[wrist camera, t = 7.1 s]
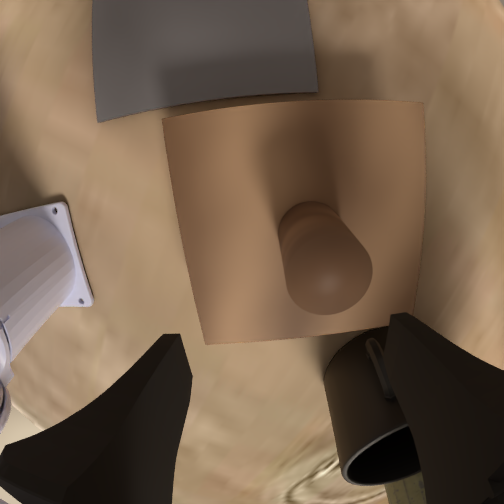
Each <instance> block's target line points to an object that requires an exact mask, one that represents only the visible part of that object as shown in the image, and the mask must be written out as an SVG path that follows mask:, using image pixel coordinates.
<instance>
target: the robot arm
mask: <svg viewBox="0 0 504 504" xmlns="http://www.w3.org/2000/svg"><path fill="white" fill-rule="evenodd" d="M55 208H57V212H56V211H55ZM81 299H83V301H82V300H81ZM93 303H94V299H93V296H92V293H91V290H90V287H89V284H88V280H87V277H86V274H85V271H84V267H83V264H82V261H81V257H80V254H79V250H78V246H77V243H76V239H75V235H74V231H73V227H72V223H71V219H70V214H69V210H68V206H67V204H66V203H65V202H56V203H52V204H47V205H42V206H38V207H34V208H29V209H25V210H21V211H17V212H13V213H9V214H5V215H1V216H0V434H1V432H2V430H3V428H4V427H5V425H6V423H7V420H8V417H9V414H10V410H11V398H10V394H9V392H8V390H7V388H6V386H7V385H8V383H9V382H10V381H11V379H12V378H13V377H14V373H13V371H12V369H11V367H10V363H11V362H12V361H13V359H14V358H15V357H16V356H17V354H18V353H19V352H20V351H21V350H22V348H23V347H24V346H25V345H26V344H27V342H28V341H29V340H30V339H31V338H32V336H33V335H34V334H35V333H36V332H37V331H38V329H39V328H40V327H41V326H42V325H43V324H44V323H45V321H46V320H47V319H48V318H49V317H50V316H51V315H52V314H53V313H54V311H55V310H56V309H57V308H58V307H89V306H91V305H92V304H93ZM383 361H384V365H385V368H386V372H387V375H388V378H389V381H390V384H391V386H392V389H393V391H394V393H395V395H396V398H397V400H398V402H399V404H400V407H401V409H402V411H403V414H404V416H405V418H406V421H407V423H408V425H409V428H410V430H411V433H412V436H413V439H414V442H415V446H416V450H417V454H418V458H419V462H420V467H421V471H422V476H423V482H424V489H425V496H426V504H504V370H501V369H499V368H497V367H495V366H493V365H491V364H488V363H486V362H484V361H482V360H480V359H479V358H477V357H475V356H473V355H471V354H470V353H468V352H466V351H465V350H463V349H461V348H460V347H458V346H457V345H455V344H453V343H452V342H450V341H449V340H447V339H446V338H444V337H443V336H441V335H440V334H438V333H437V332H436V331H434V330H433V329H431V328H430V327H428V326H427V325H425V324H424V323H423V322H421V321H420V320H418V319H417V318H415V317H414V316H412V315H410V314H409V313H407V312H403V313H397V314H391V315H390V322H389V328H388V334H387V339H386V345H385V350H384V355H383ZM192 377H193V376H192V373H191V369H190V366H189V363H188V359H187V356H186V353H185V349H184V346H183V342H182V339H181V335H180V334H163V335H162V336H161V337H160V338H159V339H158V340H157V341H156V342H155V343H154V344H153V345H152V346H151V347H150V348H149V349H148V350H147V351H146V353H145V354H144V355H143V356H142V357H141V358H140V359H139V360H138V361H137V362H136V363H135V364H134V365H133V366H132V367H131V368H130V369H129V370H128V371H127V372H126V373H125V374H124V375H123V376H121V377H120V378H119V379H118V380H117V381H116V382H115V383H114V384H113V385H112V386H111V387H110V388H108V389H107V390H106V391H105V392H104V393H102V394H101V395H100V396H99V397H97V398H96V399H95V400H93V401H92V402H91V403H89V404H88V405H87V406H85V407H84V408H82V409H81V410H79V411H78V412H76V413H75V414H73V415H71V416H70V417H68V418H67V419H65V420H63V421H62V422H60V423H58V424H56V425H54V426H52V427H50V428H48V429H46V430H44V431H42V432H40V433H38V434H35V435H33V436H31V437H28V438H25V439H22V440H20V441H17V442H14V443H11V444H8V445H6V446H5V447H4V449H3V451H2V453H1V455H0V486H1V487H2V488H3V489H4V490H5V491H7V492H8V493H9V494H10V495H12V496H13V497H14V498H15V499H17V500H18V501H19V502H21V503H22V504H172V493H173V481H174V471H175V462H176V457H177V451H178V447H179V443H180V439H181V435H182V431H183V427H184V423H185V419H186V415H187V411H188V407H189V403H190V396H191V387H192ZM0 504H8V503H6V502H5V501H3V500H1V499H0Z"/></svg>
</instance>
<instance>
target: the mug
mask: <svg viewBox="0 0 504 504" xmlns="http://www.w3.org/2000/svg"><path fill="white" fill-rule="evenodd" d="M388 328H389V326H387V327H382V328H378V329H374V330H372V331H369V332H366V333H364V334H362V335H360V336H358V337H357V338H355V339H353V340H352V341H350V342H349V343H348V344H346V345H345V346H344V347H343V348H342V349H341V350H340V351H339V352H338V353H337V354H336V355H335V356H334V358H333V359H332V361H331V362H330V364H329V366H328V368H327V371H326V374H325V379H324V386H325V391H326V396H327V401H328V406H329V411H330V416H331V421H332V426H333V431H334V436H335V441H336V446H337V452H338V457H339V462H340V468H341V473H342V476H343V478H344V479H345V480H346V481H347V482H349V483H351V484H355V485H360V486H375V485H382V484H388V483H392V482H396V481H399V480H402V479H405V478H408V477H410V476H413V475H415V474H417V473H420V472H422V471H421V467H420V462H419V458H418V454H417V450H416V446H415V442H414V439H413V436H412V433H411V430H410V428H409V425H408V423H407V421H406V418H405V416H404V414H403V411H402V409H401V407H400V404H399V402H398V400H397V398H396V395H395V393H394V391H393V389H392V386H391V384H390V381H389V378H388V375H387V372H386V368H385V365H384V361H383V355H384V350H385V345H386V339H387V334H388Z"/></svg>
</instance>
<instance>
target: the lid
mask: <svg viewBox="0 0 504 504" xmlns="http://www.w3.org/2000/svg"><path fill="white" fill-rule="evenodd" d="M162 124H163V131H164V138H165V145H166V152H167V159H168V165H169V171H170V177H171V183H172V189H173V195H174V201H175V206H176V212H177V217H178V223H179V228H180V233H181V238H182V243H183V248H184V253H185V258H186V263H187V268H188V272H189V277H190V281H191V286H192V290H193V295H194V299H195V304H196V308H197V312H198V316H199V320H200V325H201V329H202V333H203V337H204V341H205V345H210V344H229V343H245V342H259V341H271V340H282V339H292V338H302V337H311V336H320V335H328V334H336V333H343V332H350V331H357V330H364V329H371V328H377V327H383V326H389V322H390V315H391V314H397V313H403V312H407V313H409V314H410V315H412V316H413V311H414V305H415V299H416V293H417V286H418V279H419V271H420V263H421V254H422V244H423V232H424V218H425V197H426V142H425V121H424V108H423V103H421V102H408V101H391V100H307V101H290V102H276V103H265V104H254V105H245V106H237V107H229V108H222V109H215V110H208V111H202V112H196V113H190V114H184V115H179V116H174V117H169V118H164V119H162Z"/></svg>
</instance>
